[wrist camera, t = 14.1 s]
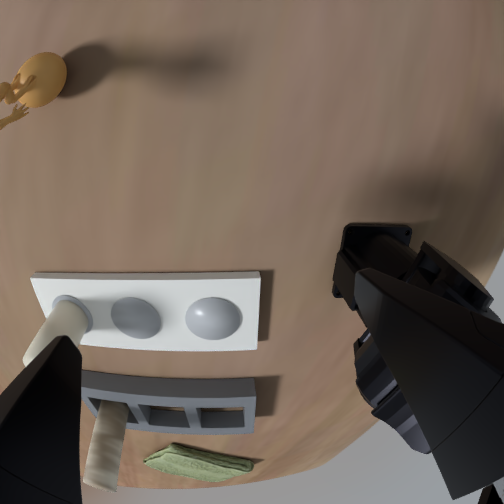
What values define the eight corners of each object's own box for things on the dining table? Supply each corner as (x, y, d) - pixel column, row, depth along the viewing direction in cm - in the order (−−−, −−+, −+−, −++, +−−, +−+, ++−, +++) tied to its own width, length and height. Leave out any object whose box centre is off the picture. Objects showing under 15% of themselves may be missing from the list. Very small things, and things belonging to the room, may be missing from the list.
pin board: (253, 377, 27) (256, 396, 25) (251, 417, 31) (253, 433, 29) (78, 369, 25) (72, 385, 23) (104, 410, 29) (101, 424, 27)
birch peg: (132, 393, 27) (116, 489, 16) (129, 406, 29) (115, 493, 17) (104, 383, 27) (81, 478, 15) (103, 397, 28) (84, 483, 16)
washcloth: (168, 437, 34) (167, 454, 31) (257, 457, 40) (259, 472, 37) (141, 454, 38) (140, 468, 35) (219, 473, 44) (220, 485, 42)
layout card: (258, 271, 21) (276, 347, 14) (255, 341, 25) (267, 415, 18) (35, 272, 19) (-11, 327, 12) (60, 334, 23) (32, 392, 16)
